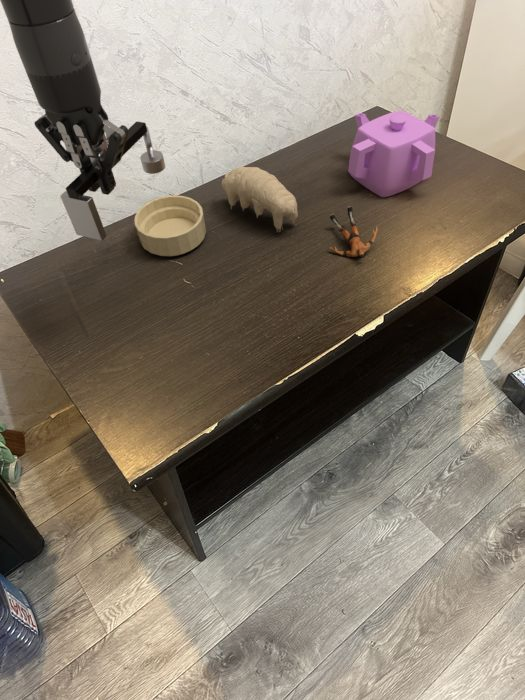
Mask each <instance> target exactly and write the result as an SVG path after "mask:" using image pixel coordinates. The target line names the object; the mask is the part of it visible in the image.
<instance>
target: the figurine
mask: <svg viewBox="0 0 525 700" xmlns="http://www.w3.org/2000/svg"><path fill="white" fill-rule="evenodd" d="M346 208H347V216H348V218H349V225H350V228H351V233H350V232H349V231H348V230H347V229H345V228H344V227H343V226H342V225H341V224H340V222H339V221H338V219H337V217H336V215H335V214H334V213H332V214H330V215H329V219H330V221H332V222H333V224H335V226H336V227H337V230H338V231H339V232H340V233H341V234H342V236H343V238H344V239H345V240H346V241H347V243H348V244H349V246H350V250H346V251H343V250H338V248H337V247H336V246H333V247H334V248H333V247H331V246H329V250H330V251H331V252H332V253H335V254H337V255H340V256H341V257H342V256H343V257H344V256H345V257H351V258H353V257H359V258H360V259H364V258H365V253H367V252H368V251H369V249H371V246H372V245H373V244H374V242H375V240H376V236H377V234H378V230H379V229H378V226H375V230H374V229H372V236H371V237H370V239H369V240H368V241H367V242H366V243H363V241H362V240H361V237H360V234H359V231H358V227H357V225H356V221H355V220H354V218H353V213H354V212H353V207H352V206H350V205H349V206H348V207H346Z"/></svg>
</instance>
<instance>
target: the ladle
mask: <svg viewBox="0 0 525 700" xmlns="http://www.w3.org/2000/svg"><path fill="white" fill-rule="evenodd" d="M128 130H129V133H128V137H127V140H126V144H125V147H124V151H123V154H122V157H124V155H126V153H128V151H130V149H132V148H133V146H135V145H136V144H137V143H138V142H139V141H140V140H141V139H142V138H143V141H144V145H145V149H146V151H145V152H143V153H142V154H141V155H140V157H139V159H140V162H141V166H142V171H143V172H144V173H146V174H149V175H155V174H159V173H161V172H163V171H165V169H166V162H165V158H164V154H163V152H162V151H160V150H155V149H154V147H153V143H152V139H151V135H150V130H149V127H148V126H147V123H146V122H142V121H139V120H138V121H135V122H134V123H133V124H132V125H131V126H130V127H128ZM99 158H100V159H101V156H100V155H99ZM95 171H96V170H95V169H94V167H93V165H92V164H91V165H90V166H89V167H88V168H86V169H85V170H84V171H83V172H82V173H81V172H80V174H79V175H78V176H76V178H75V179H74V180H72V181H71V182H70V183H69V184H68V185H67V186H66V187H65V191H64V192H63V193H61V194H60V197H59V198H60V199H61V201H62V205H63V206H64V208H65V210H66V213H67V216H68V218H69V220H70V223H71V225H72V227H73V230H74V232H75V234H76V235H77V236H81V237H84V238H88V239H93V240H96V241H101V242H103V241H104V240H105V239H106V237H108V235H107V233H106V230H105V227H104V225H103V223H102V219H101V216H100V214H99V211H98V208H97V205H96V204H95V200H94V198H93V196H89V195H85V194H86V193H87V192H88V191H89V189H90V188H91V187H92V186H93V185H94V184H95V183H96V182H97V181H98V179H97V176H96V173H95Z"/></svg>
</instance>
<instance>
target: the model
mask: <svg viewBox="0 0 525 700" xmlns="http://www.w3.org/2000/svg"><path fill="white" fill-rule="evenodd" d="M221 187H222V189H223V191H224V192H225V194H226V196H227V199H228V203H229V205H230V210H232V209H233V207H234V206H236V205H237V203H238V200H239V203H240V206H241V208H242V211H243V212H245V209H248V208H249V207H250V206H251V204H253V210H254V213H255V215H256V218H257V219H259V218H258V217H259V216H262V215H263V214H264V211H265V210H266V211H267V212H269V213H271V215H272V220H273V226H274V228H275V229H276V233H280V232H281V231H282V230H284V228H283V223H284V222H283V221H284V220H283V219H284V217H286V218H287V220H288V221H291V222H292V224H293V226H295V225H296V224H295V223H296V220H297V218H298V216H299V212H298V203H297V199H296V197H295V195H293V193H291V191H289V190H288V189H287V188H286V186H285V185H284V184H282V183H281V182H280V181H279V180H278V178H277V177H276V176H275V175H274V174H271V173H269V172H268V171H266V170H264V169H261V168H260V167H257V166H239V167H236V168H233V169H232V170H231V171H228V172H225V175H224V178H222V180H221Z"/></svg>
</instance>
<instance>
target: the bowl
mask: <svg viewBox="0 0 525 700" xmlns="http://www.w3.org/2000/svg"><path fill="white" fill-rule="evenodd" d="M133 219H134V227H135V230H136V233H137V236H138V240H139V243H140V245H141V246H142V248H143V249H144V250H146V251H148V252H149V254H153V255H156V256H159V257H177V256H180V255H184V254H186V253H188V252H191V251H192V250H194V249H195V248H197V247H198V246H200V244H201V243H202V242H203V241H204V240H205V237H206V235H207V228H206V227H207V226H206V222H205V217H204V210H203V207H202V205H201V204H200V203H199V202H198V201H196V200H195V199H193V198H192V197H189V196H185V195H166V196H165V195H164V196H159V197H157V198H154V199H151V200H149V201H148V202H147V203H144V204H143V205H142V206H141V207H140V208H139V209H138V210H137V211H136V214H135V216H134V218H133Z"/></svg>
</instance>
